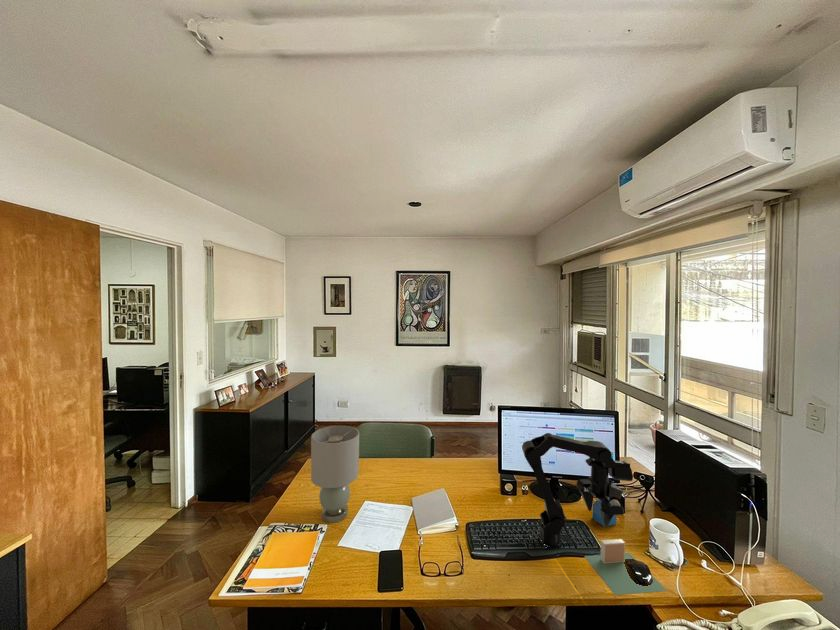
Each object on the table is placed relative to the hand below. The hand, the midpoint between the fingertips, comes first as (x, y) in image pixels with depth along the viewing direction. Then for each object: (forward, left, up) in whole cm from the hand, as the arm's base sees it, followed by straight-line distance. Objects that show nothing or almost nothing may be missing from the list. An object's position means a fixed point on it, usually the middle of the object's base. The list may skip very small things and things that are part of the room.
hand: (597, 518), depth 121 cm
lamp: (-101, +29, -12) cm, 106 cm away
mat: (+2, -11, -12) cm, 16 cm away
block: (+2, -6, -11) cm, 13 cm away
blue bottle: (+14, +15, -12) cm, 23 cm away
